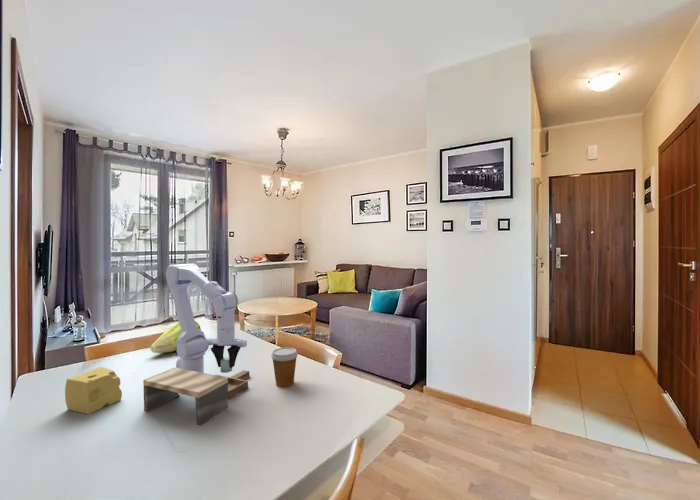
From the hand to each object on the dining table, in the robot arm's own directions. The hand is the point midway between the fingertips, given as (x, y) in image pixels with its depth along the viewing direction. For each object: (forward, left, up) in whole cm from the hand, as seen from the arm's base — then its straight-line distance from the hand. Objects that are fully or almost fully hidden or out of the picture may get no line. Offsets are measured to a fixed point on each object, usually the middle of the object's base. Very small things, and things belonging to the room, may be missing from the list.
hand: (226, 366), depth 115 cm
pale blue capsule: (0, 0, -2) cm, 2 cm away
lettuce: (-55, +25, -9) cm, 61 cm away
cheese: (-32, -24, -9) cm, 41 cm away
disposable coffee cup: (+16, +12, -9) cm, 22 cm away
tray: (-2, +3, -8) cm, 9 cm away
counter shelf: (-2, -15, -8) cm, 17 cm away
